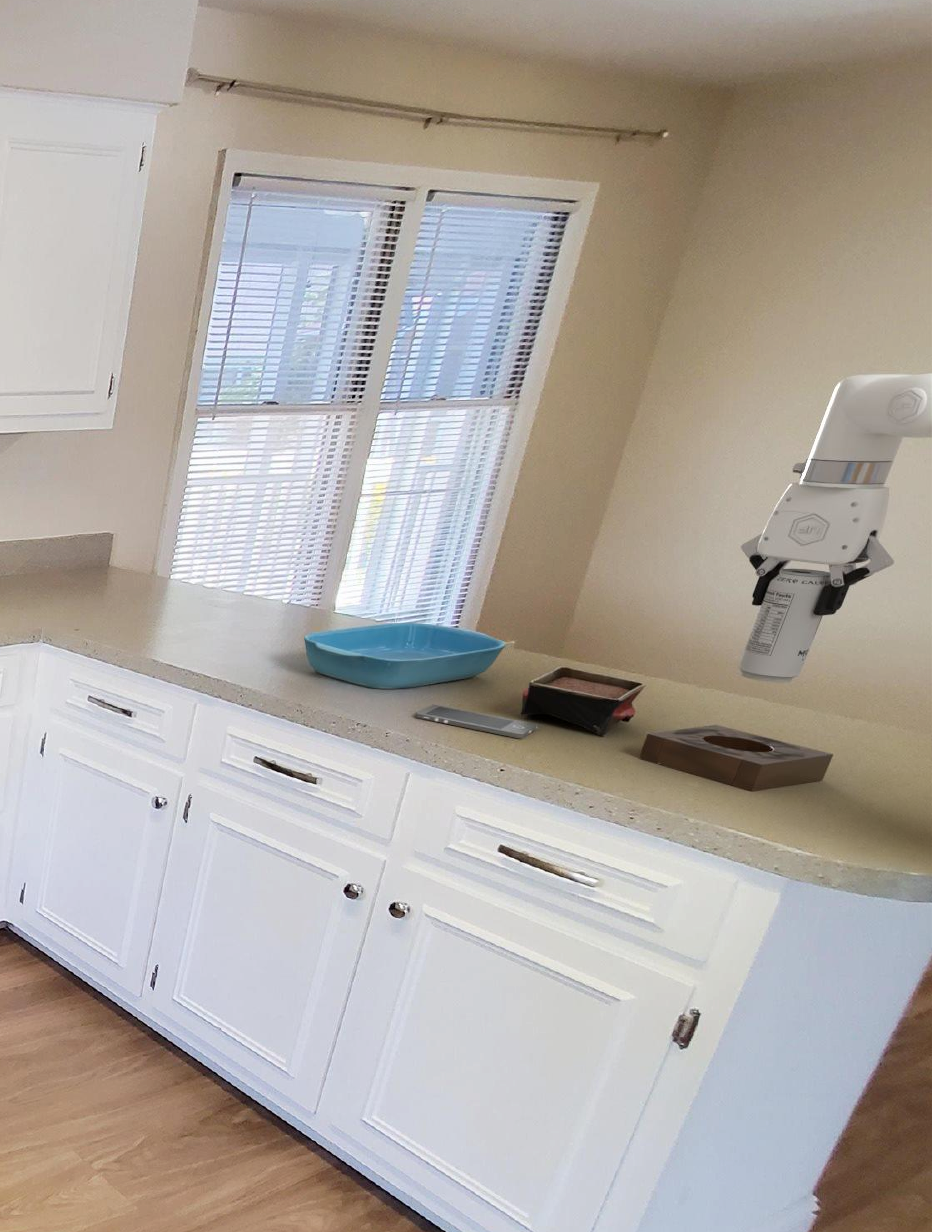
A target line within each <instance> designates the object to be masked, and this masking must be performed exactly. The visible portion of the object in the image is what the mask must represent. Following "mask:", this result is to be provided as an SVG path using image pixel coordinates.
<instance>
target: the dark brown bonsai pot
mask: <svg viewBox="0 0 932 1232" xmlns="http://www.w3.org/2000/svg"><path fill="white" fill-rule="evenodd" d="M645 687H646V684H645V683H644V682H641V681H637V680H632V679H628V678H625V677H620V676H615V675H610V674H605V673H601V672H597V671H592V670H585V669H581V668H574V667H570V666H556V667H554V668H552V669H551V670H549V671H548V672H546V673H544V674H542V675H540V676H537V677H536V678H534V679H532V680H530V681H529V682H528V687H527V688H525V689H523V691H522V696H521V697H522V698H521V709H520V710H521V711H520V712H519V716H526V715H527V716H528V715H545V714H546V715H550V716H552V717H555V718H558V719H561V720H562V721H566V722H569V723H571V724H574V725H577V726H580V727H582V728H585V729H587V730H589V731H590V732H593V733H595V734H596V735H599V736H600V737H603V738H604V737H605V735H606V734H607V733H608V731H610V730H611V728H613V727H614V726H616V725H617V724H618V723H619V722H625V723H629V722H630V720H631V719H632V718H634V717H635V715H636V709H635V707H634V705H633V702H634V701H635V700H636V698H637V697H638V696H639V695H640V693H641V692H642V691H643V690H644V689H645Z"/></svg>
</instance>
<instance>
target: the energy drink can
mask: <svg viewBox="0 0 932 1232" xmlns="http://www.w3.org/2000/svg"><path fill="white" fill-rule="evenodd" d="M830 583H831V579H830V571H825V570H817V569H807V568H784V569H782V570H781V572H780V574H779V575H777V576H776V577H775V578H774V579H773V580H771V581H770V584H769V586H768V589H767V592H766V594H765V597H764V600H763V602H762V605H760V607H759V610H758V613H757V615H756V618H755V621H754V623H753V626H752V629H751V632H750V635H749V637H748V640H747V642H746V646H745V648H744V651H743V653H742V656H741V659H740V662H739V664H738V667H737V668H738V670H740V672H741V673H740V676H741V677H743V678H746V679H751V680H754V681H760V682H765V683H766V682H767V683H777V684H778V683H781V684H782V683H783V684H785V683H790V682H791V681H792V680H793V679H794V678H797V677H799V676H800V674H801V671H802V670H803V666H804V664H805V662H806V659H807V657H808V654H809V653H810V652H809V651H810V649H811V647H812V644H813V641H814V639H815V636H816V633H817V631H818V629H819V626H820V624H821V622H822V619H823V616H819V615H815V614H814V613H813V612H814V609H815V607H816V604H817V602H818V599H819V597H820V594H821V592H822V589H823V587H824V586H827V585H830Z"/></svg>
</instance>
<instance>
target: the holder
mask: <svg viewBox="0 0 932 1232" xmlns="http://www.w3.org/2000/svg"><path fill="white" fill-rule="evenodd" d="M833 757H834V754H833V753H829V752H826V751H823V750H817V749H813V748H810V747H806V746H801V745H797V744H794V743H790V742H786V741H782V740H778V739H773V738H770V737H766V736H762V735H757V734H754V733H750V732H746V731H742V730H738V729H733V728H730V727H726V726H722V725H719V724H711V725H702V726H696V727H689V728H681V729H673V730H665V731H656V732H651V733H647V734H646V737H645V739H644V742H643V745H642V748H641V751H640V753H639V757H638V759H639V758H642V759H641V760H643V759H645V760H644V761H646V760H648V761H647V762H650V763H653V762H654V764H657V763H660V764H661V766H663V765H665V766H664V767H667V766H668V767H667V768H670V769H674V768H676V769H675V770H677V769H678V771H680V770H681V771H680V772H684V771H685V772H684V773H688V774H691V773H693V774H692V775H694V774H695V776H697V775H699V776H698V777H701V778H704V779H707V780H711V779H712V781H715V782H718V783H721V784H725V785H728V786H732V787H734V788H735V787H736V788H739V789H742V790H746V791H748V792H755V791H761V790H769V789H774V788H783V787H788V786H795V785H801V784H809V783H815V782H821V781H822V782H823V780H824V778H825V775H826V773H827V771H828V768H829V766H830V764H831V761H832V760H833ZM660 764H659V765H660Z"/></svg>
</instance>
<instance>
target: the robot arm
mask: <svg viewBox="0 0 932 1232" xmlns="http://www.w3.org/2000/svg"><path fill="white" fill-rule="evenodd" d="M819 427H820V428H819V430H818V433H817V435H816V438H815V440H814V443H813V446H812V449H811V450H810V454H809V457H808V458H806V460H805V461H804V462H796V463H795V464H794V465H793V468H792V473H794V474H799V475H800V476H799V479H800V481H799V482H791V483H790V484H789V485H788V487H787V488H786V490H785V491H784V493H783V494H782V496H781V497H780V499H779V501H778V502H777V503H776V506H775V507H774V509H773V511H772V513H771V515H770V517H769V518H768V521H767V523H766V524H765V527H764V529H763V532H762V533H761V534H759V535H756V536H755V537H754V538H751V539H749V540H748V541H746V542H745V543H743V544H742V545H741V546H740V549H741V551H742V552H743V553H744V554H745V556H746V557H747V558H748V561H749V564H750V565H752V567H753V568H754V570H755V575H756V576H757V577H758V580H757V581H756V584H755V587H754V590H753V592H752V598H753V599H752V601H751V605H752V606H757V607H761V605H762V602H763V600H764V597H765V594H766V592H767V589H768V586H769V584H770V581H771V580H773V579H774V578H775V577H776V576H777V575H779V574H780V573H781V570H782V569H786V567H787V566H788V565H789V564H790V563H791V561H793V562H800V563H809V564H817V565H827V566H828V572H830V579H831V583H830V585H827V586H824V587H823V589H822V592H821V594H820V597H819V599H818V602H817V604H816V607H815V609H814V612H813V613H814V614H815V615H819V616H822V617H823V616H832V615H835V614H836V613H837V611H838V610H840V609H841V608H842V606H843V603H844V602H845V600H846V596H847V594H848V591H849V589H850V587H851V586H854V585H856V584H857V583H858V582H860V581H863V580H865V579H867V578H869V577H871V576H873V575H874V574H876V573H879V572H880V571H881V572H882V571H883V570H885V569H887V568H889V567H891V566H893V565H894V563H895V561H894V559H893V558H892V556H891V555H890V553H888V551H887V550H886V549H885V548H884V546H883V544H881V542H880V537H881V534H882V531H883V527H884V524H885V520H886V516H887V510H888V505H889V500H890V499H889V498H890V497H889V496H890V487H888V486H885V484H886V481H887V479H888V477H889V474H890V471H891V469H892V467H893V464H894V461H895V458H896V456H897V454H898V451H899V448H900V447H901V444H902V441H903V438H914V439H916V438H917V439H919V438H920V439H921V438H922V439H923V438H932V372H928V373H920V374H909V373H876V374H875V373H873V374H872V373H871V374H870V373H869V374H856V375H850V376H847V377H845V378H843V379H841V380H840V381H838V383H837V385H836V386H835V387H834V390H833V392H832V395H831V397H830V401H829V403H828V405H827V408H826V411H825V414H824V416H823V419H822V421H821V424H820V426H819ZM868 561H869V562H868ZM864 562H868V563H866V564H864V565H863V566H860V567H858V568H857V565H856V564H862V563H864Z"/></svg>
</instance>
